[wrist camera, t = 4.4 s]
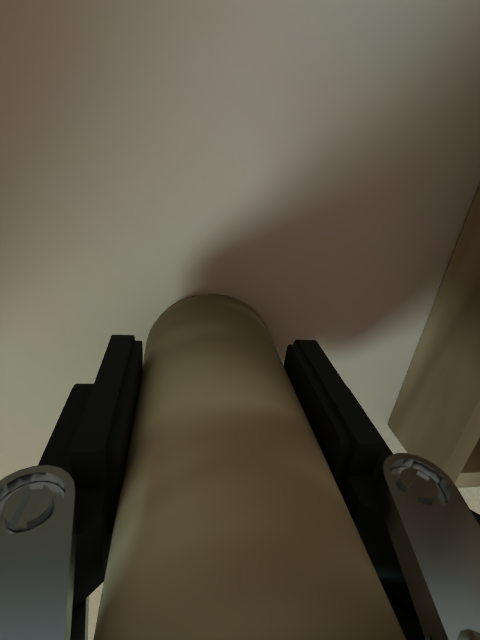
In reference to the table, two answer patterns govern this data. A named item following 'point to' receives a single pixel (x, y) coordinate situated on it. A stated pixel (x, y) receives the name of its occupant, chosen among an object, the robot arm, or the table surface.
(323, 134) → the table surface
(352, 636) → the loose peg
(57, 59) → the table surface
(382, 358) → the table surface
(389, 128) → the table surface
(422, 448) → the wooden peg tray
